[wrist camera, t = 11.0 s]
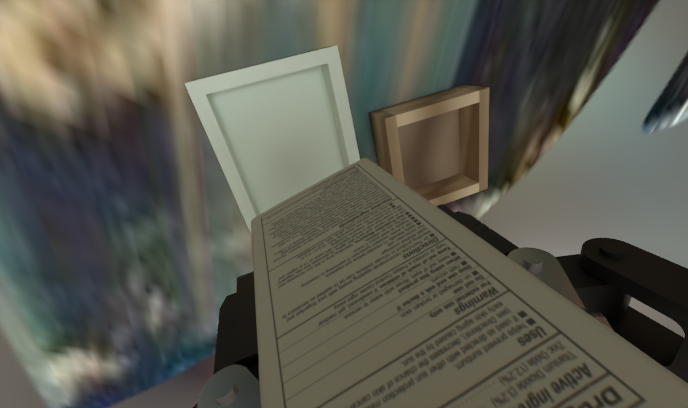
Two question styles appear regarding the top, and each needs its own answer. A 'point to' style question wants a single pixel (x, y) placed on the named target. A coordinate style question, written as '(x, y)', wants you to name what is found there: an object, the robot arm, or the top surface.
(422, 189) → the wooden square box
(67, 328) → the top surface
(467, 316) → the skincare box
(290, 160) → the tray
